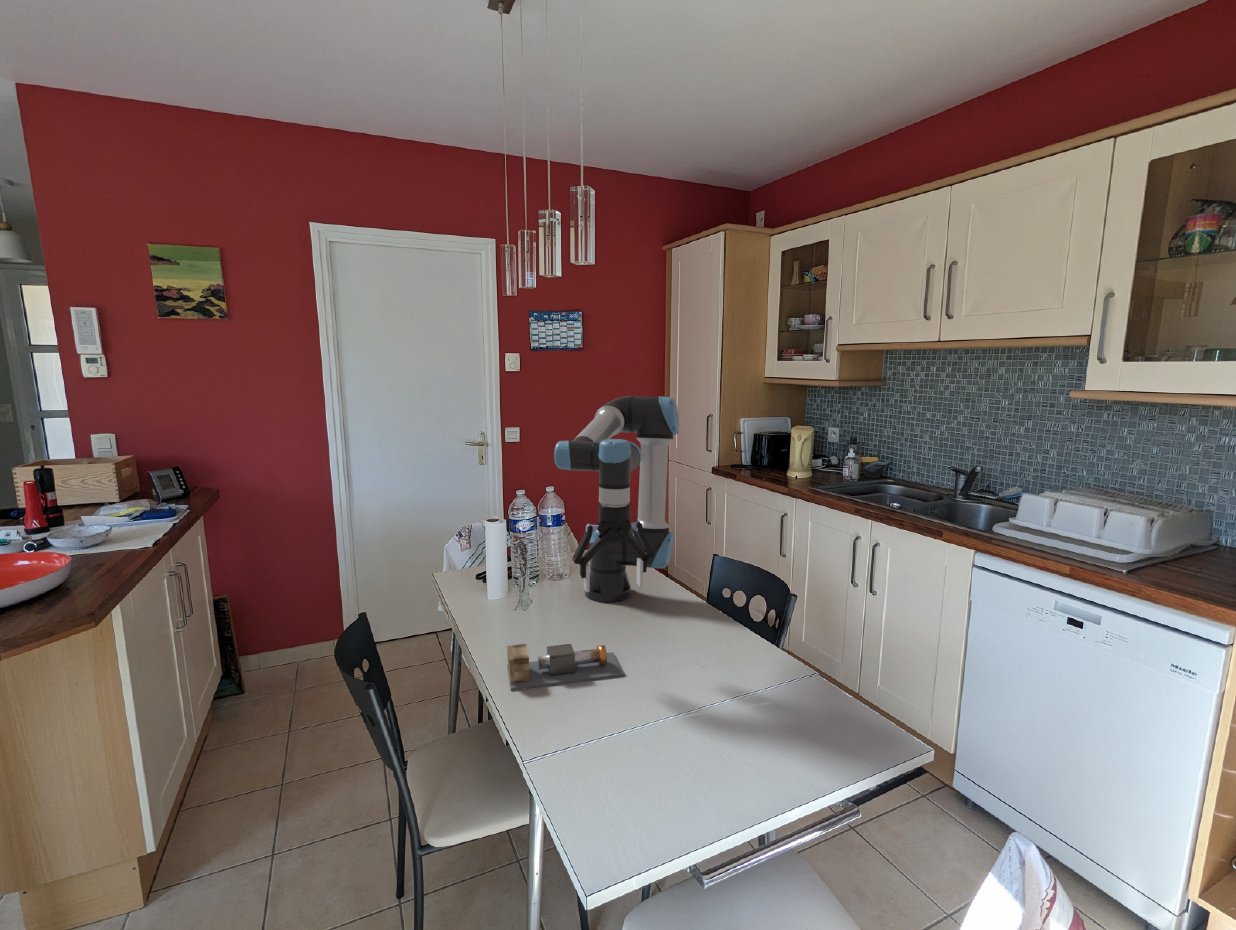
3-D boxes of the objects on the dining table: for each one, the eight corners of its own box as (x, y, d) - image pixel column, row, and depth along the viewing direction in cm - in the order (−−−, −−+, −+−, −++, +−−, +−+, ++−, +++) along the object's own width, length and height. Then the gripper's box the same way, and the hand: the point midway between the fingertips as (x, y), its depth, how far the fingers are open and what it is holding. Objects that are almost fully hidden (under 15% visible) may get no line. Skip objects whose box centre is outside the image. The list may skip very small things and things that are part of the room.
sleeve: (571, 662, 146) (571, 643, 145) (575, 673, 141) (574, 653, 141) (547, 665, 145) (546, 646, 144) (550, 676, 140) (549, 656, 139)
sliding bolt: (602, 658, 148) (602, 641, 147) (607, 667, 144) (607, 650, 143) (537, 666, 144) (537, 649, 143) (539, 676, 140) (539, 658, 139)
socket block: (526, 666, 144) (525, 643, 143) (529, 681, 138) (529, 657, 137) (507, 668, 143) (507, 645, 142) (510, 683, 137) (509, 659, 136)
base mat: (613, 654, 152) (613, 652, 152) (624, 675, 142) (624, 673, 142) (507, 666, 145) (507, 664, 145) (510, 690, 135) (510, 688, 135)
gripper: (657, 497, 149) (655, 577, 152) (560, 503, 142) (560, 586, 145) (668, 504, 142) (666, 588, 145) (566, 510, 135) (566, 597, 138)
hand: (613, 587), depth 145 cm, fingers open, 13 cm apart
